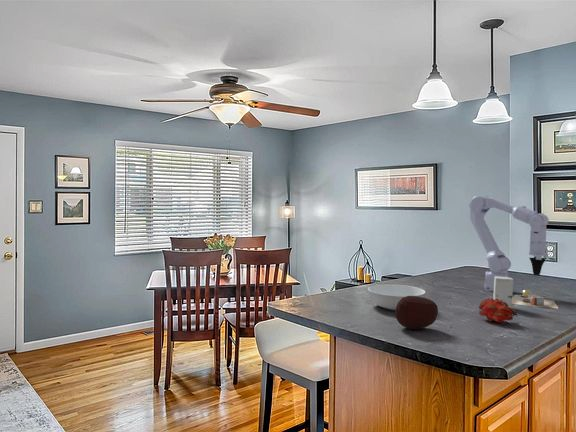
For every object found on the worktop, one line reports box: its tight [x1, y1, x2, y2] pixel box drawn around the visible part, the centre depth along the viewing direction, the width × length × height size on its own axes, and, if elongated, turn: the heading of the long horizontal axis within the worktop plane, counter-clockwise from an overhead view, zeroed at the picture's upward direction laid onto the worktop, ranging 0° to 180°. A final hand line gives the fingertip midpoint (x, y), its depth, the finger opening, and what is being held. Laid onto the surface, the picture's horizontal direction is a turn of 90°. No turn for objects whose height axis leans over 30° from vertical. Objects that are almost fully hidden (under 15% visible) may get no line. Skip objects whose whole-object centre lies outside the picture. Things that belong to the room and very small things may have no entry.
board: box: [512, 296, 559, 310], centre depth 176 cm, size 17×16×1 cm
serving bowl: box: [367, 283, 427, 311], centre depth 166 cm, size 21×21×7 cm
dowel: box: [531, 297, 535, 305], centre depth 170 cm, size 1×1×3 cm
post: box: [521, 289, 532, 298], centre depth 178 cm, size 3×3×4 cm
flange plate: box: [513, 293, 545, 306], centre depth 175 cm, size 14×7×3 cm, turn 0°
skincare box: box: [492, 276, 514, 308], centre depth 165 cm, size 6×4×12 cm
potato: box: [394, 296, 439, 330], centre depth 138 cm, size 11×13×10 cm
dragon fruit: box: [478, 297, 518, 325], centre depth 148 cm, size 8×8×12 cm
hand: (536, 275), depth 186 cm, fingers closed
